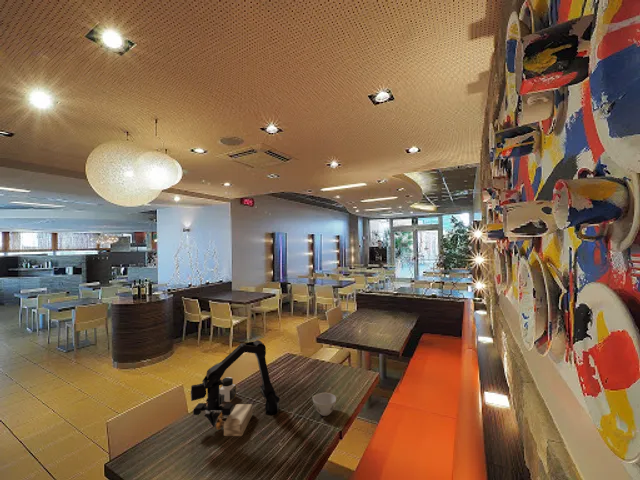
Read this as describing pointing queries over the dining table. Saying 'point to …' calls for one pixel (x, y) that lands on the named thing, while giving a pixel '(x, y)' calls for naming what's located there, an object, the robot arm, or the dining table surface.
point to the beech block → (238, 420)
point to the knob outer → (220, 424)
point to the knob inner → (222, 415)
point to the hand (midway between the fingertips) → (214, 426)
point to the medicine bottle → (228, 389)
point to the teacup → (324, 403)
